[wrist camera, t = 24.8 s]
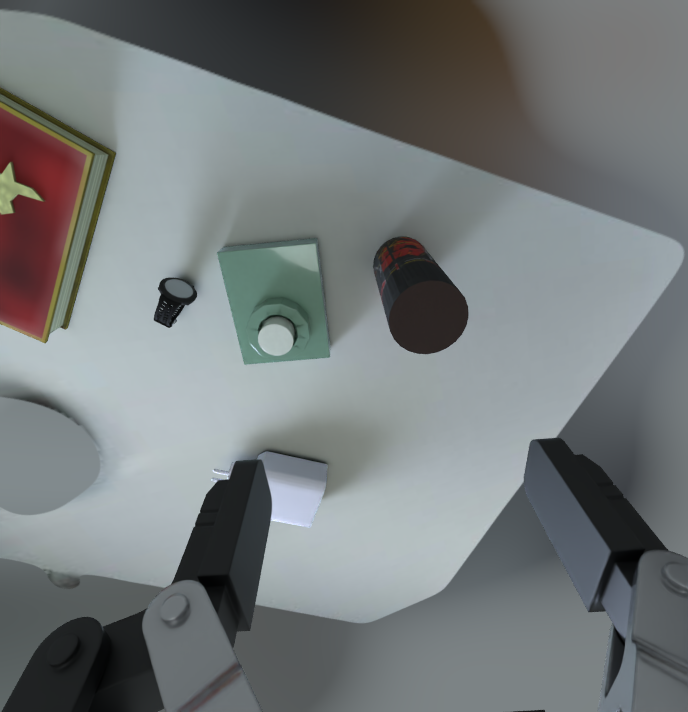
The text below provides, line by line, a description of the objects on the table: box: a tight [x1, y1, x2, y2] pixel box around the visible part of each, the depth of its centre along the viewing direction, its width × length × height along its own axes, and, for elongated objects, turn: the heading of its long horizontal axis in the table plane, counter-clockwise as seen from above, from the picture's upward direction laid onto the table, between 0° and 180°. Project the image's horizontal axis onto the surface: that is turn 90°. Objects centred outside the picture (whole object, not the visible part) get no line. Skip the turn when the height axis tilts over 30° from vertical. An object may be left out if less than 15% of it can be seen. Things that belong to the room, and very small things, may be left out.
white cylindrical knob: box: [258, 316, 295, 356], centre depth 41 cm, size 4×4×2 cm
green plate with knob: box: [217, 238, 330, 365], centre depth 42 cm, size 13×10×4 cm
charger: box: [212, 451, 327, 528], centre depth 55 cm, size 5×9×15 cm
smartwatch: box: [154, 278, 197, 328], centre depth 41 cm, size 4×5×5 cm
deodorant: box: [373, 237, 468, 354], centre depth 36 cm, size 6×6×15 cm
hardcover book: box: [0, 88, 116, 343], centre depth 38 cm, size 12×21×4 cm, turn 150°
